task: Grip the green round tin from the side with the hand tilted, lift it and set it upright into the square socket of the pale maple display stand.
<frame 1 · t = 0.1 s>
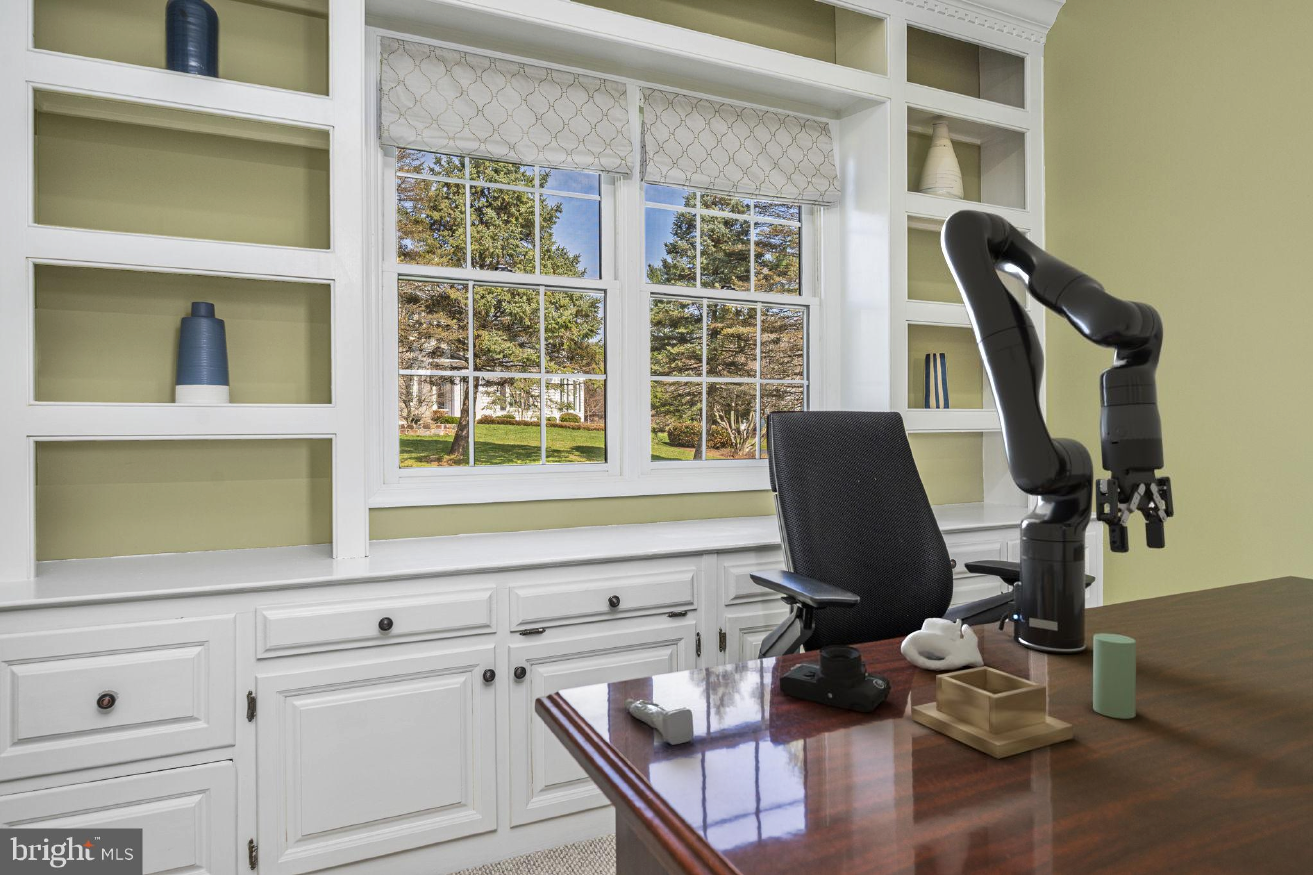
hand: (1138, 550, 107), 17 cm above the table, tool pointing down, fingers open, 8 cm apart
baby figurine: (947, 667, 109), on the table
green round tin: (1114, 711, 91), on the table
film camera: (835, 697, 96), on the table
display stand: (989, 728, 85), on the table
figurine: (653, 726, 86), on the table
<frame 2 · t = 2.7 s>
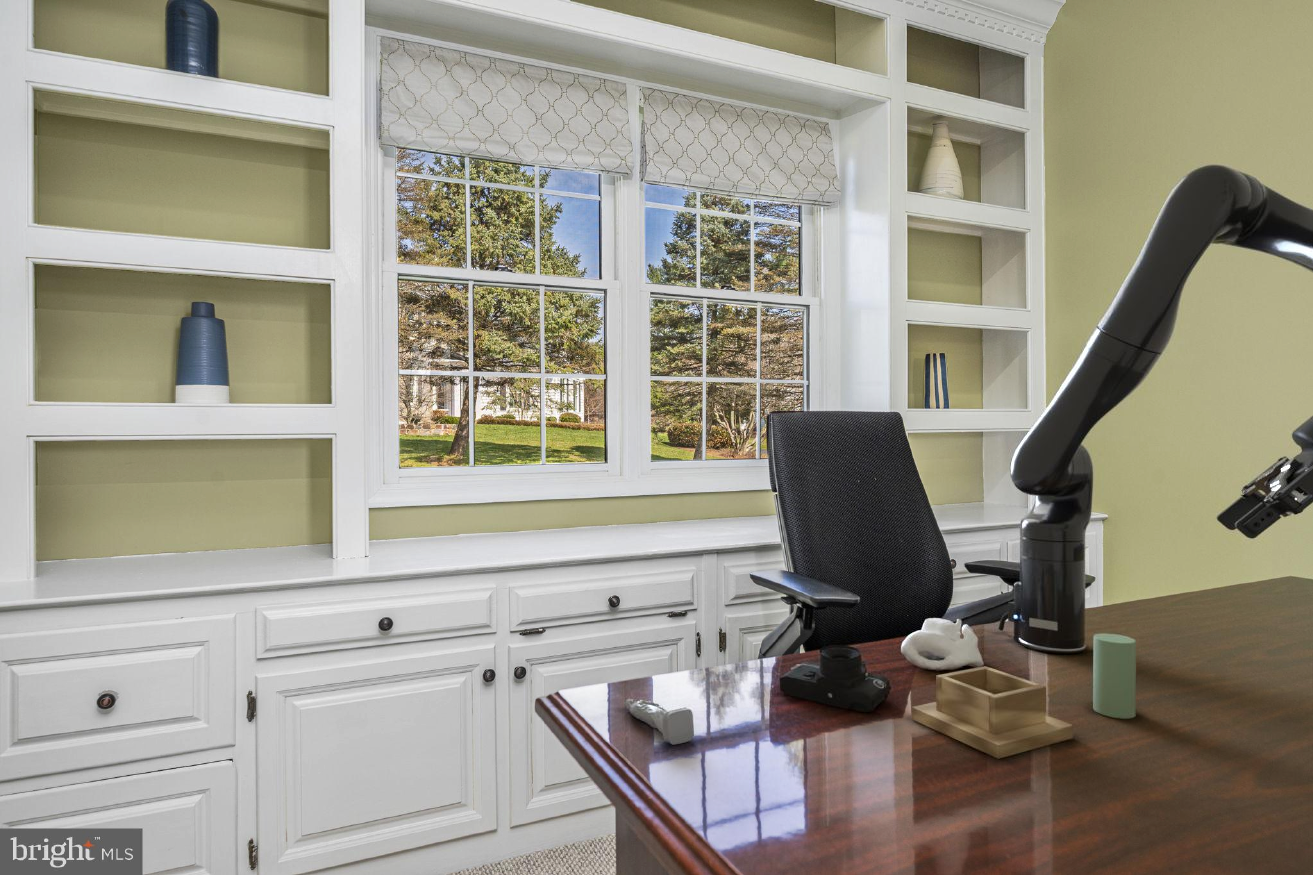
hand: (1232, 528, 86), 23 cm above the table, tool tilted 45°, fingers open, 8 cm apart
nothing on the table moved.
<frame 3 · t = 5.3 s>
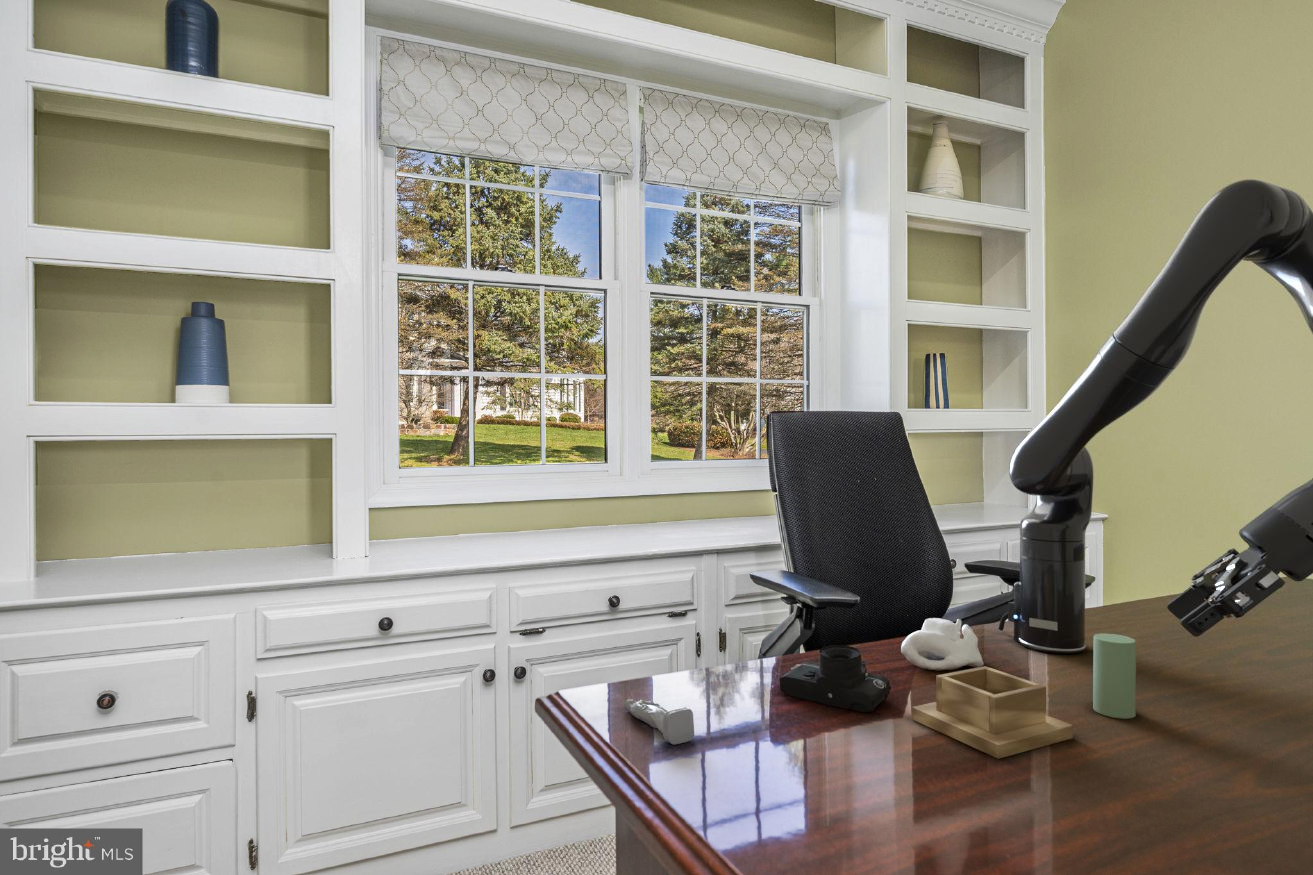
hand: (1179, 621, 88), 12 cm above the table, tool tilted 45°, fingers open, 8 cm apart
nothing on the table moved.
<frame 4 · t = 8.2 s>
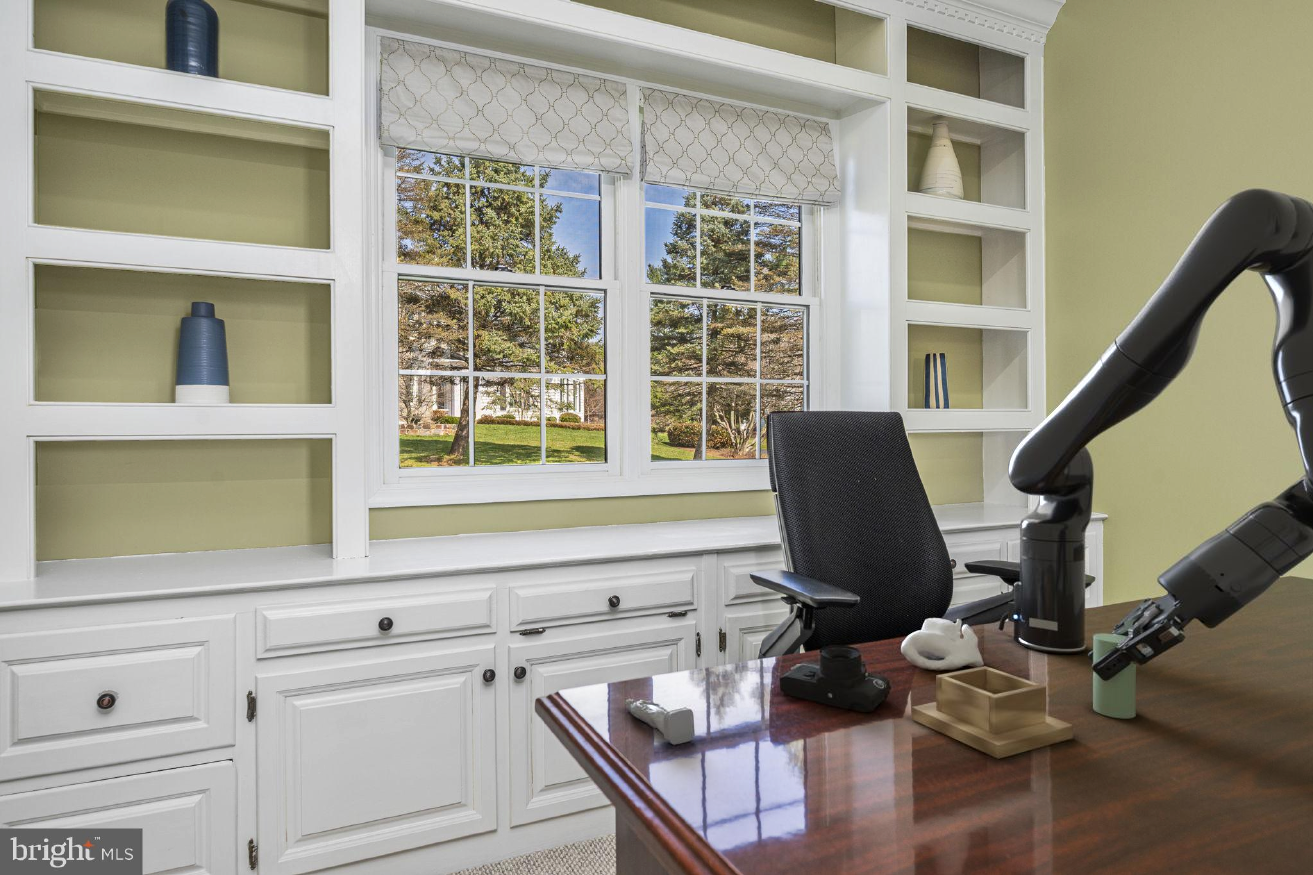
hand: (1096, 667, 91), 5 cm above the table, tool tilted 45°, fingers closed on green round tin, 4 cm apart
green round tin: (1114, 711, 91), on the table, touching gripper
everything else where it was.
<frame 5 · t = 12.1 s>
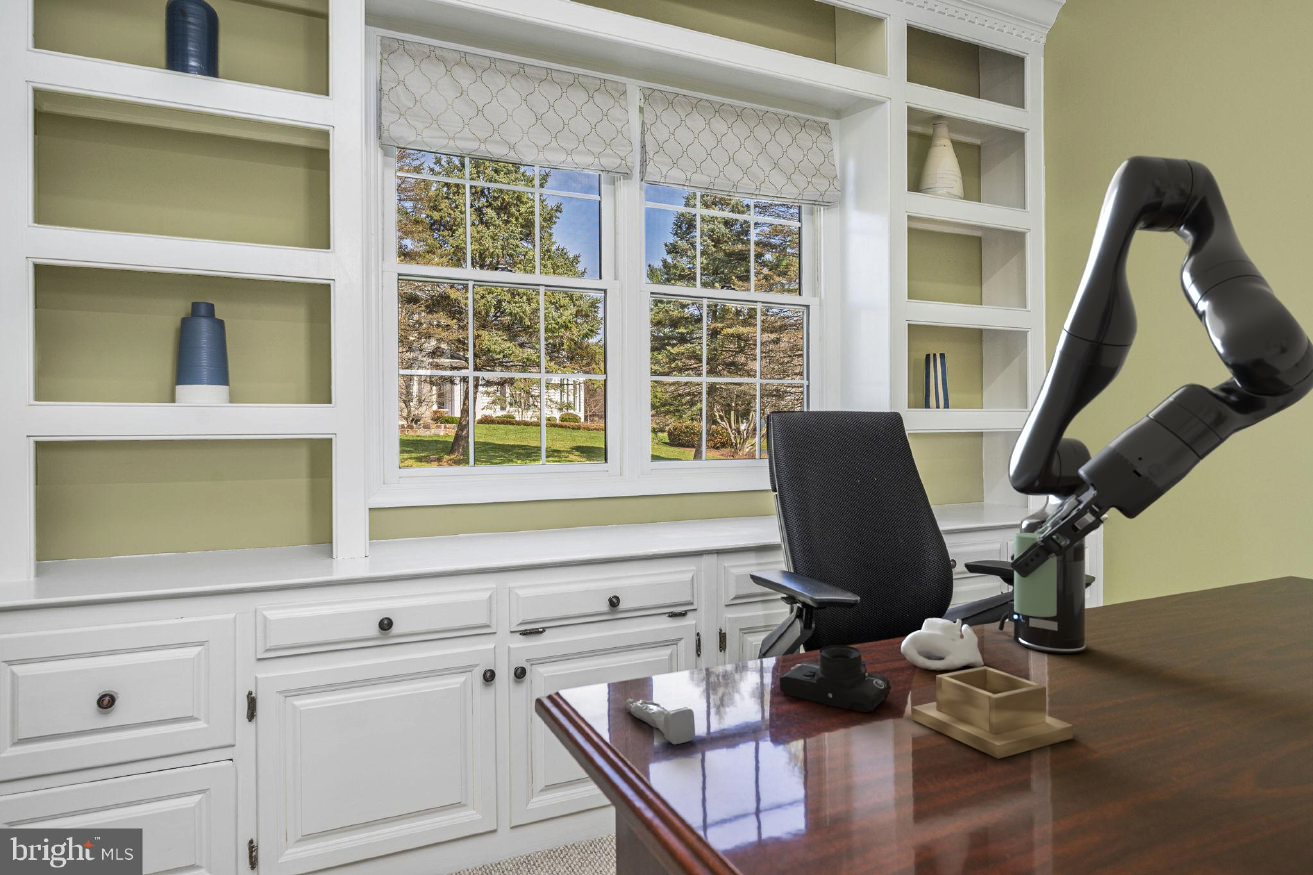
hand: (1016, 567, 88), 18 cm above the table, tool tilted 45°, fingers closed on green round tin, 4 cm apart
green round tin: (1035, 612, 87), point 13 cm above the table, touching gripper
everything else where it was.
when the fingers open (7 cm above the table, at t = 16.3 s): green round tin stays where it is, resting on display stand.
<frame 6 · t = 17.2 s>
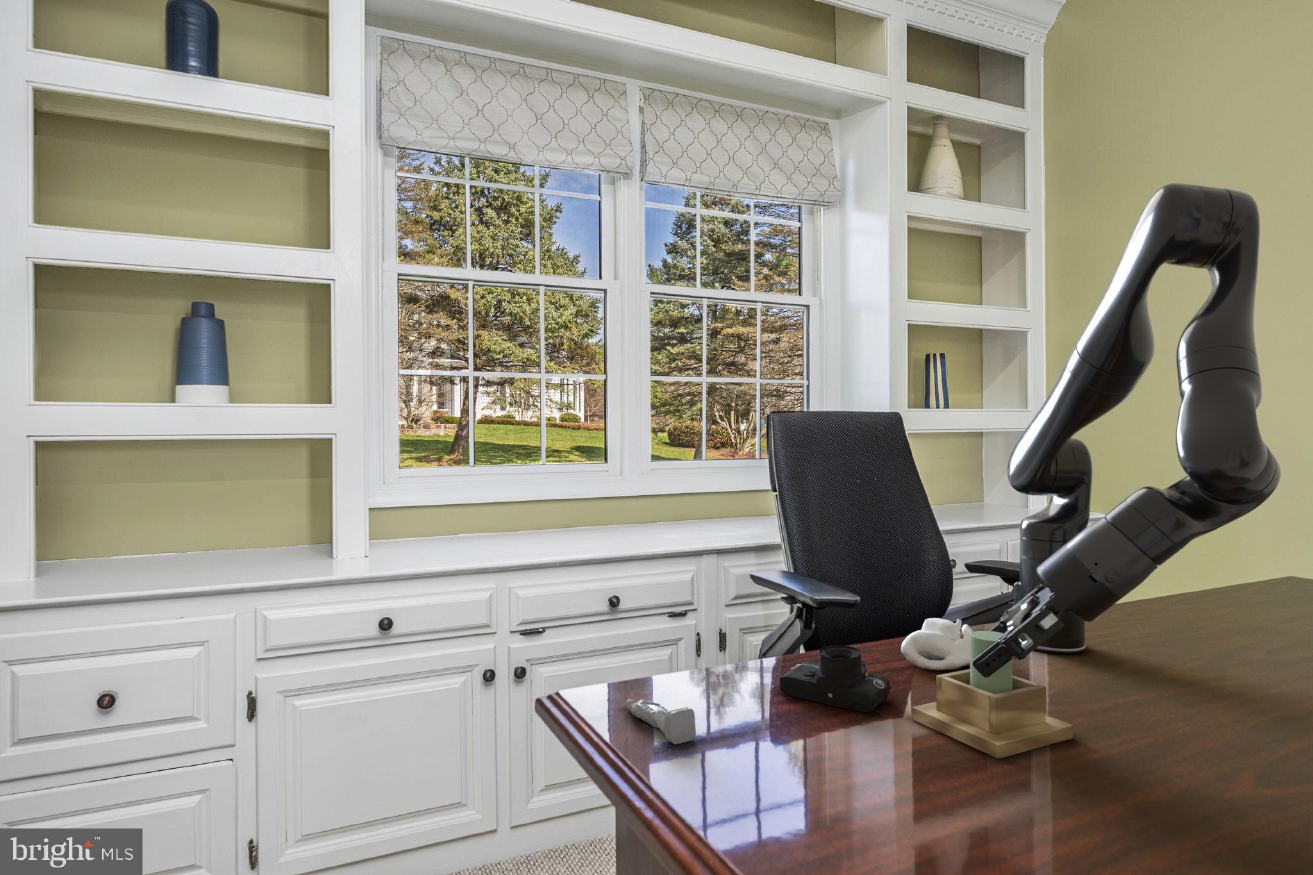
hand: (980, 659, 86), 8 cm above the table, tool tilted 45°, fingers open, 8 cm apart
green round tin: (990, 714, 85), point 2 cm above the table, touching display stand
everything else where it was.
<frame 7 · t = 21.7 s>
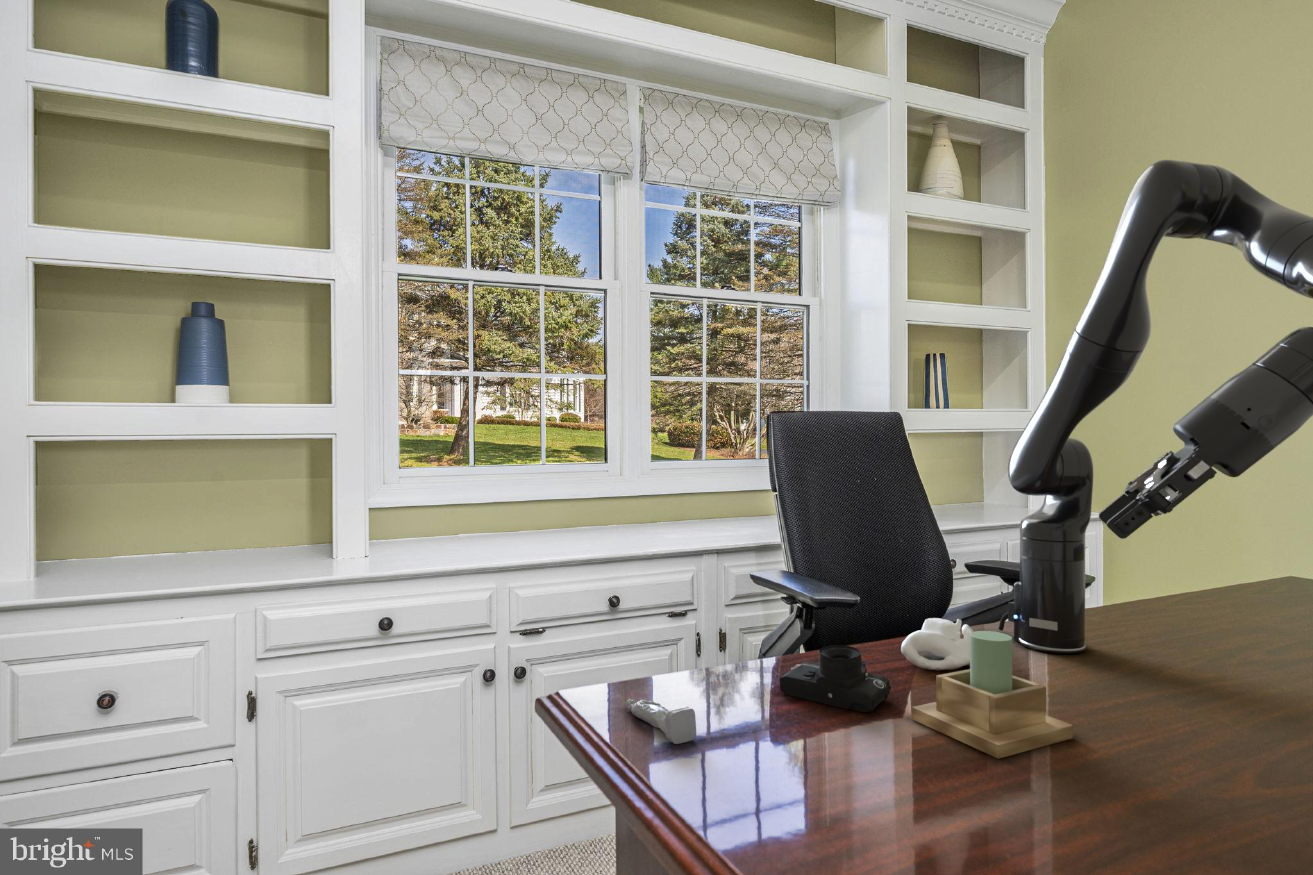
hand: (1108, 527, 80), 24 cm above the table, tool tilted 45°, fingers open, 8 cm apart
nothing on the table moved.
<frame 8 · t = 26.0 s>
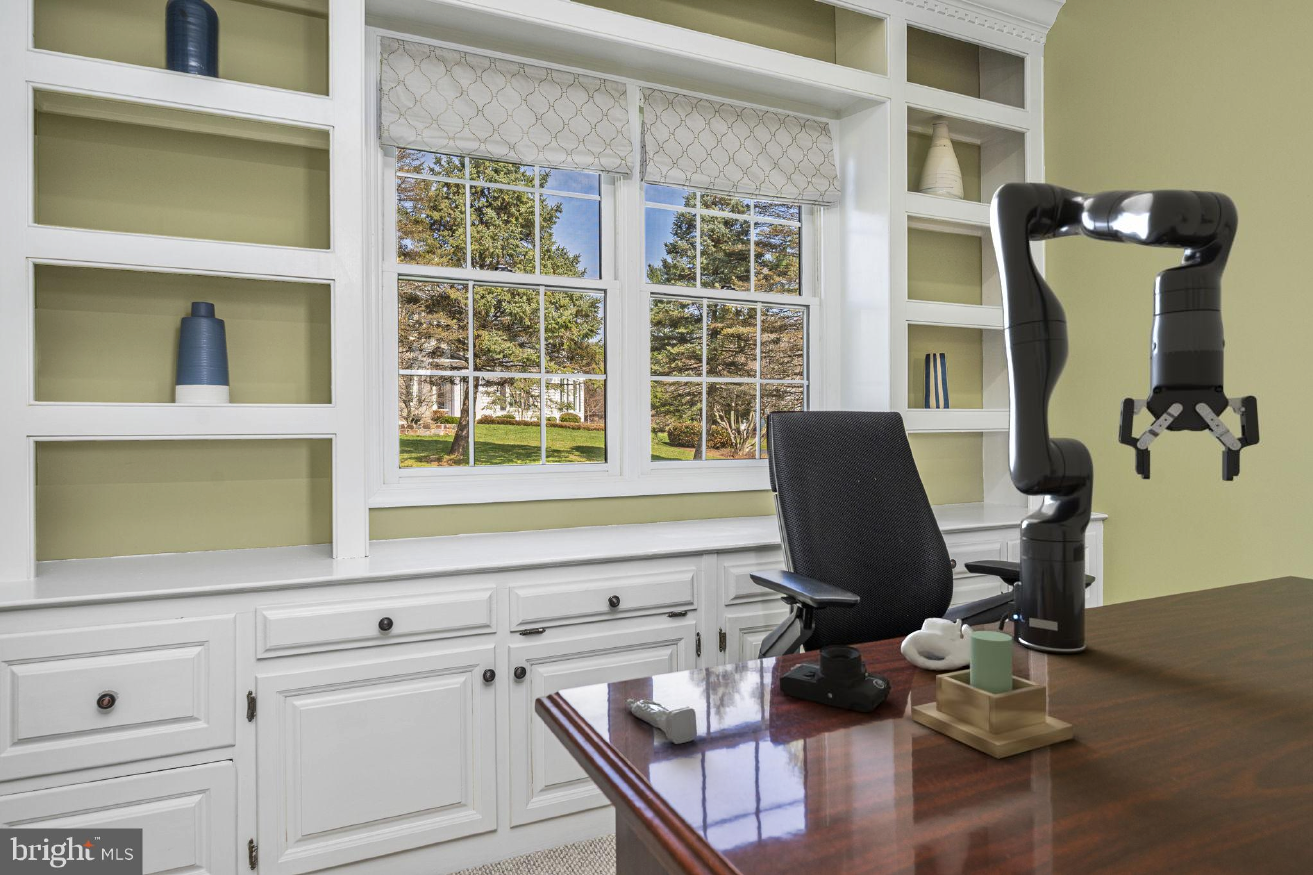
hand: (1185, 479, 94), 28 cm above the table, tool pointing down, fingers open, 8 cm apart
nothing on the table moved.
at the end: green round tin 0.1 cm off-centre on the display stand, point 1.7 cm above the display stand's base; green round tin tilted 0°; the gripper is holding nothing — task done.
